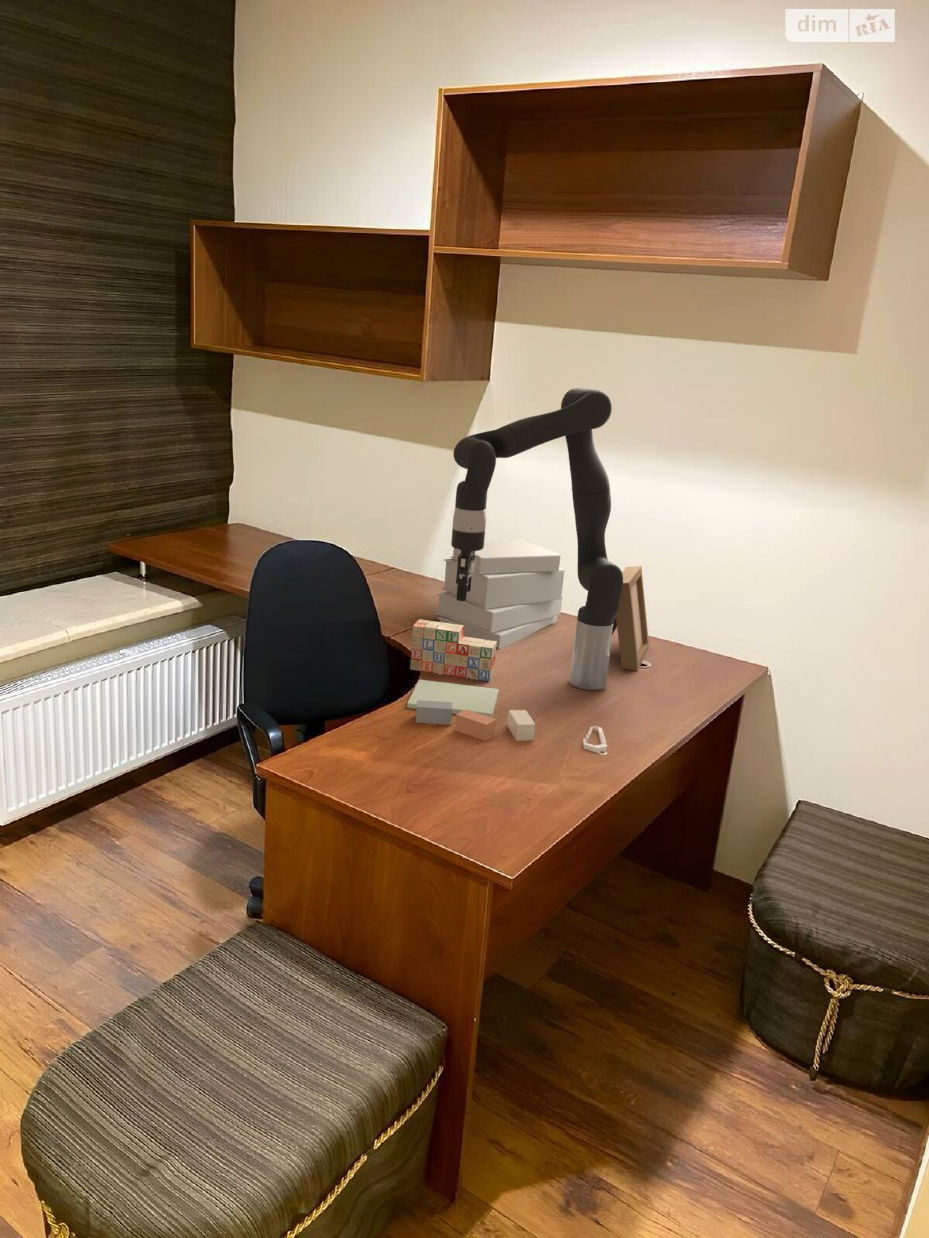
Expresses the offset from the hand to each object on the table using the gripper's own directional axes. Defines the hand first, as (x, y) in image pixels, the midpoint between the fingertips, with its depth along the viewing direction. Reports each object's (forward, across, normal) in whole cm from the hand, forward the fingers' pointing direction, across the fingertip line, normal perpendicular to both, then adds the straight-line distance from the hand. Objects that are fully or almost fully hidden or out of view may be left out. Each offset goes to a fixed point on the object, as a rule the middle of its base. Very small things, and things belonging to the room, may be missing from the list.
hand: (463, 595), depth 217 cm
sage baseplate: (+26, 0, 0) cm, 26 cm away
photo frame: (+27, +46, -40) cm, 67 cm away
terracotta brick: (+26, -18, -7) cm, 32 cm away
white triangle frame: (+27, -14, -33) cm, 45 cm away
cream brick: (+26, -14, -17) cm, 35 cm away
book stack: (+27, +59, -5) cm, 65 cm away
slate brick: (+26, -13, +3) cm, 30 cm away
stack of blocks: (+27, +19, +3) cm, 33 cm away
